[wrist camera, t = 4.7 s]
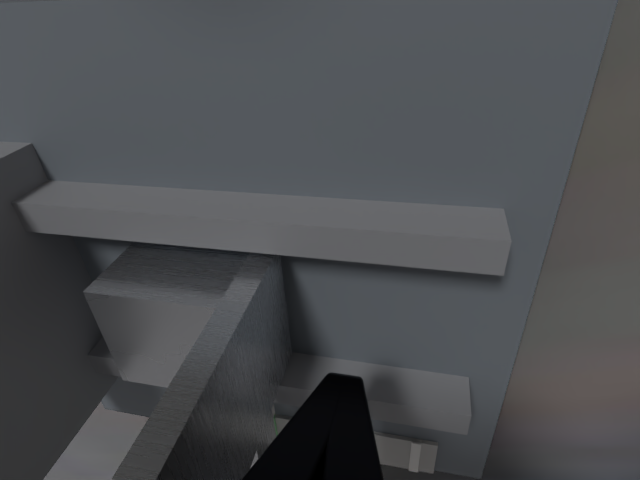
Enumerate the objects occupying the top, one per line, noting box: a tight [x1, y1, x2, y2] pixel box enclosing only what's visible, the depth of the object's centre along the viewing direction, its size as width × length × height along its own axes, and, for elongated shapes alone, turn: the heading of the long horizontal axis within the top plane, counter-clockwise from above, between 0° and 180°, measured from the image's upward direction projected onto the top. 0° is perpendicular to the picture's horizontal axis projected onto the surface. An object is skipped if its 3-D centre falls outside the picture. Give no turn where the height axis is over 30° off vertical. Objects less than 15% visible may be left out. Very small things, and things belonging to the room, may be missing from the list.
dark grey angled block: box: [83, 242, 292, 480], centre depth 10 cm, size 4×6×6 cm, turn 3°
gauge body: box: [0, 0, 618, 480], centre depth 10 cm, size 14×14×7 cm
